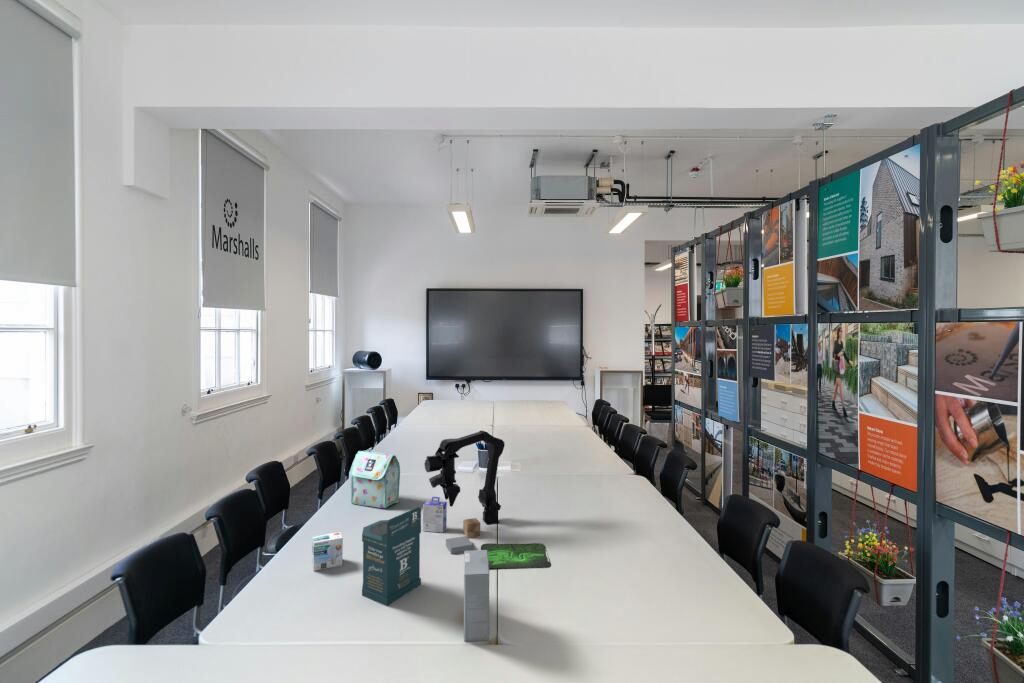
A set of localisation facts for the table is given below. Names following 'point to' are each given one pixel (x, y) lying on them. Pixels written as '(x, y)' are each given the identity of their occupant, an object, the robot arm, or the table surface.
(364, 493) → the lunch bag
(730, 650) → the table surface
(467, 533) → the walnut block
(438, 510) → the ink cartridge box
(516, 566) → the mouse mat
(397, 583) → the donation box
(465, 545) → the base slab
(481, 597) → the hard drive box
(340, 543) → the light bulb box
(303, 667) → the table surface
